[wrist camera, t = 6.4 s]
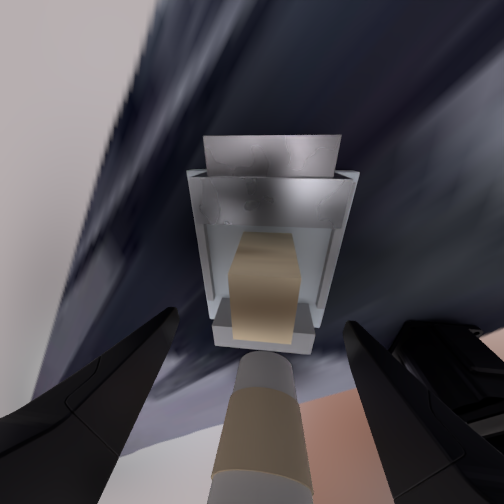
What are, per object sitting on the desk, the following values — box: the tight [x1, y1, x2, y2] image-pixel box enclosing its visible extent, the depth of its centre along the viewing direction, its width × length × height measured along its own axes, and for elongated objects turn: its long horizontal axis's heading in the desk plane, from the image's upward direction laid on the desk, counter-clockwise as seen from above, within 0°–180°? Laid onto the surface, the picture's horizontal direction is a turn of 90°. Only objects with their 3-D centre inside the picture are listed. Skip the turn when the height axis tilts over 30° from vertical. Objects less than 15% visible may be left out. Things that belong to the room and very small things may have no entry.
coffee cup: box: [207, 351, 314, 504], centre depth 18 cm, size 9×9×15 cm
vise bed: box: [187, 169, 360, 355], centre depth 14 cm, size 14×11×4 cm
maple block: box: [228, 232, 301, 345], centre depth 13 cm, size 5×4×6 cm
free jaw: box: [190, 135, 353, 229], centre depth 11 cm, size 4×8×3 cm, turn 90°
